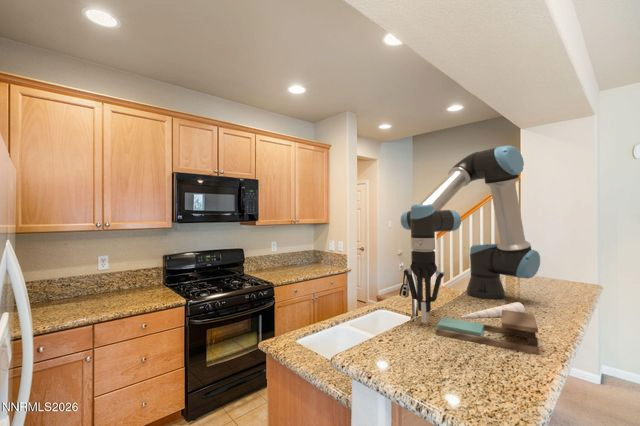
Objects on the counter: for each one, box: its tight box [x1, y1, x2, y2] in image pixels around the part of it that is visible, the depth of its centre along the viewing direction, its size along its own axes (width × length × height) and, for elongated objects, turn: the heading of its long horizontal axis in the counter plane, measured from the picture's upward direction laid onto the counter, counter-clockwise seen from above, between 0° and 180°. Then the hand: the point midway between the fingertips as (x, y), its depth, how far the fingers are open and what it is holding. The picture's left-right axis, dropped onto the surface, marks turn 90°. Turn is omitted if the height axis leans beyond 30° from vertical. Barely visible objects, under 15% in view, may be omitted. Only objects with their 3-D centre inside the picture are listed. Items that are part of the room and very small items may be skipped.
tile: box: [436, 316, 485, 337], centre depth 90 cm, size 12×8×3 cm, turn 54°
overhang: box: [436, 310, 540, 356], centre depth 87 cm, size 25×14×7 cm, turn 57°
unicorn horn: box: [459, 301, 526, 319], centre depth 104 cm, size 5×24×5 cm, turn 93°
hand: (424, 321), depth 96 cm, fingers closed
